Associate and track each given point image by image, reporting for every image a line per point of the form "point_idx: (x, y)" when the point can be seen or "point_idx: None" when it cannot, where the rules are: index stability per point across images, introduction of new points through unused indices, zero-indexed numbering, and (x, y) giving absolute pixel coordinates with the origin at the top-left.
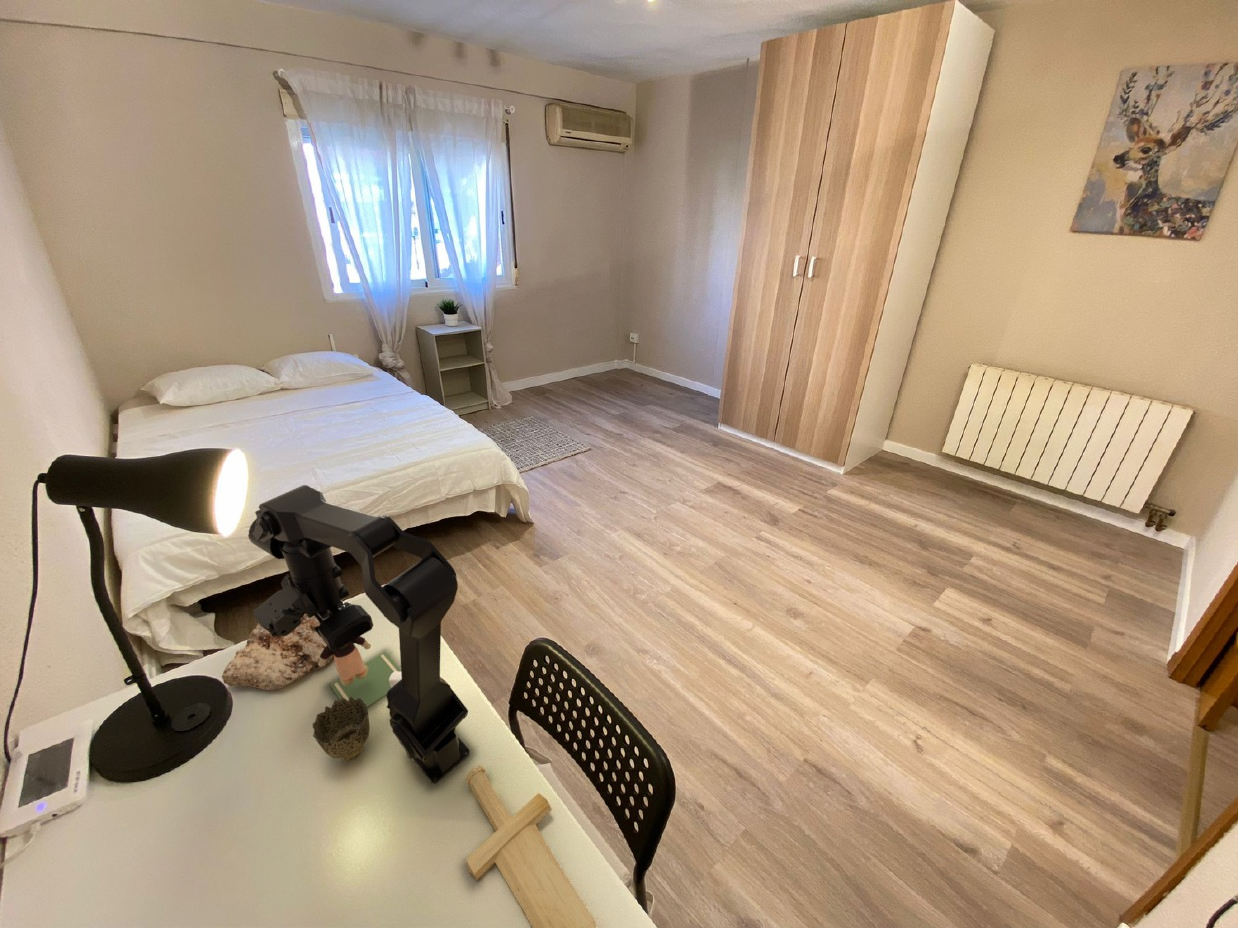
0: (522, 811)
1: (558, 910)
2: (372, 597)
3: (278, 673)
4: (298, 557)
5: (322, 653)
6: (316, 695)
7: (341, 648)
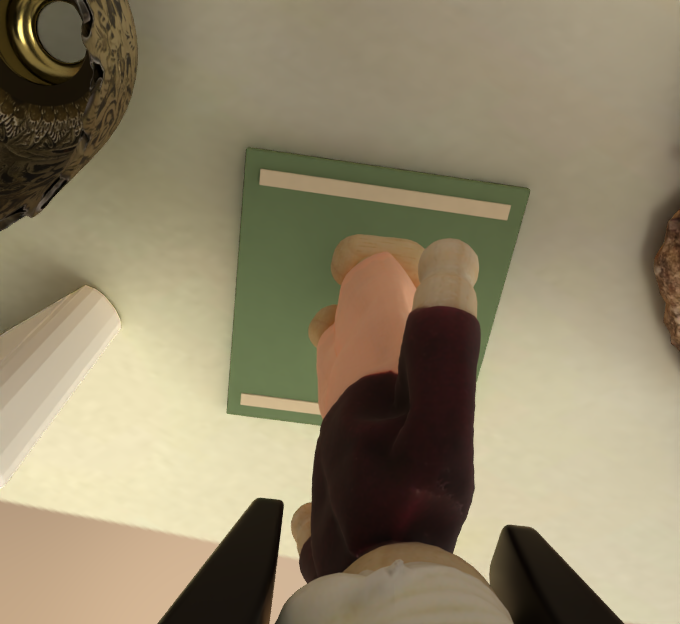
0: None
1: None
2: None
3: None
4: None
5: (446, 349)
6: (541, 109)
7: (252, 505)
